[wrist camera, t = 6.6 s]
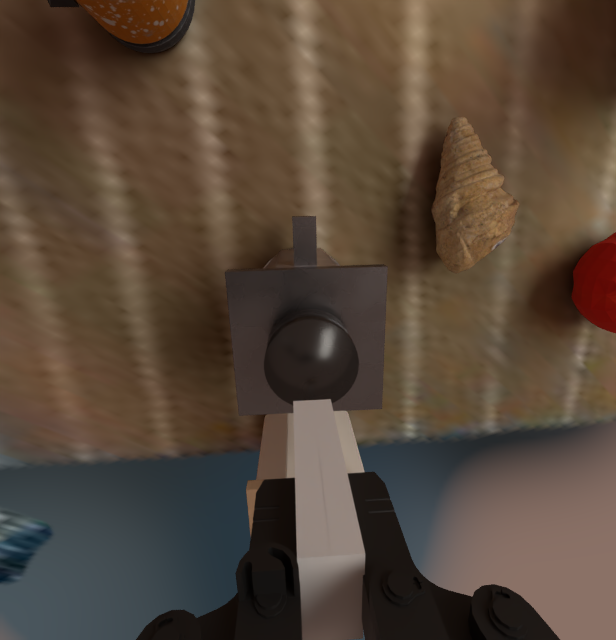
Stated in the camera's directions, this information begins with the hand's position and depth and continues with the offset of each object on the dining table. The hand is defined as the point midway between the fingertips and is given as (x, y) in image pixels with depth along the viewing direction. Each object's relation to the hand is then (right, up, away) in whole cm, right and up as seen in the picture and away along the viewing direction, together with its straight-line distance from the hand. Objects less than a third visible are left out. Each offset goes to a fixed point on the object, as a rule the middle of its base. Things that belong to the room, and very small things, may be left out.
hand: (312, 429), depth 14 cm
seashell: (+15, +18, +23) cm, 32 cm away
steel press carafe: (-1, +9, +24) cm, 26 cm away
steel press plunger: (-1, +6, +22) cm, 23 cm away
